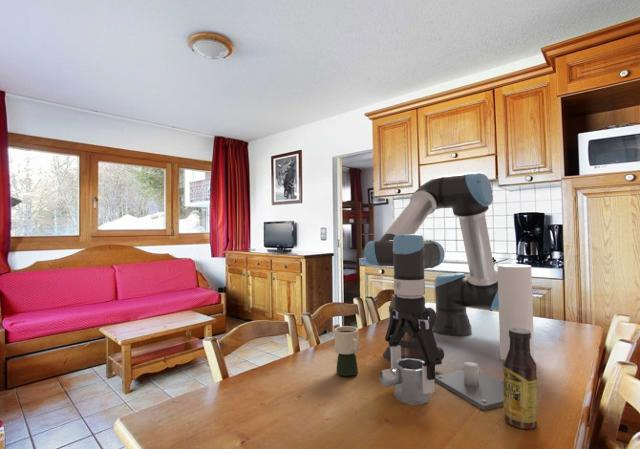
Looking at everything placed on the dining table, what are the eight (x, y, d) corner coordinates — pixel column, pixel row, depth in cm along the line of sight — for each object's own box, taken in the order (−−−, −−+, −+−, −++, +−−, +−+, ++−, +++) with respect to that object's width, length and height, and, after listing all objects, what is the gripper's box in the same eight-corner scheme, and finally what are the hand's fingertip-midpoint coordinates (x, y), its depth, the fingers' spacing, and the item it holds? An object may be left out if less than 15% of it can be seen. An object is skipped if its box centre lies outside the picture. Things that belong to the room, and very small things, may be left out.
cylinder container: (539, 365, 105) (536, 265, 105) (505, 363, 107) (502, 265, 107) (527, 354, 114) (524, 262, 115) (496, 353, 116) (493, 262, 116)
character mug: (368, 377, 99) (367, 331, 99) (347, 383, 95) (346, 335, 95) (346, 365, 108) (345, 323, 108) (327, 370, 105) (326, 326, 105)
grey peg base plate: (432, 379, 97) (432, 357, 97) (472, 371, 101) (471, 350, 102) (484, 410, 80) (483, 383, 80) (528, 398, 85) (527, 373, 85)
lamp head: (415, 387, 92) (415, 356, 92) (435, 400, 85) (434, 367, 85) (376, 395, 88) (375, 363, 88) (393, 410, 81) (392, 375, 81)
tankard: (372, 352, 119) (371, 293, 120) (411, 344, 127) (410, 289, 127) (419, 377, 98) (417, 306, 98) (463, 366, 105) (461, 300, 106)
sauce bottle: (497, 416, 77) (494, 326, 78) (524, 414, 78) (521, 324, 78) (516, 433, 71) (513, 334, 71) (545, 430, 71) (542, 333, 72)
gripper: (371, 289, 98) (373, 365, 97) (428, 306, 75) (431, 406, 74) (394, 287, 101) (396, 361, 100) (456, 303, 77) (459, 400, 77)
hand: (411, 381), depth 87 cm, fingers open, 13 cm apart
